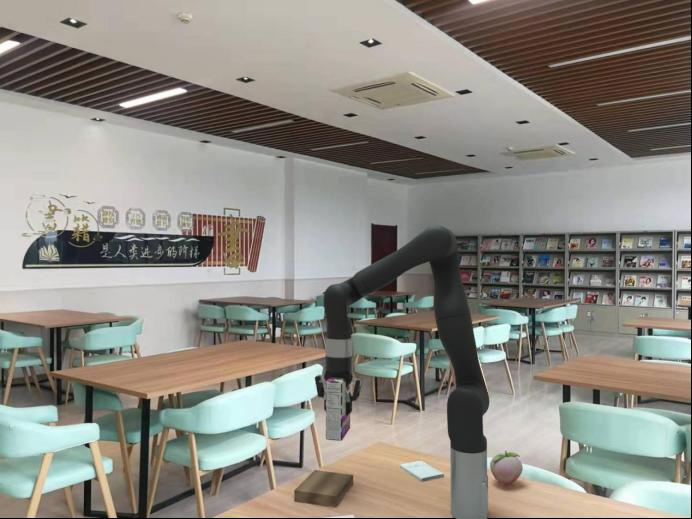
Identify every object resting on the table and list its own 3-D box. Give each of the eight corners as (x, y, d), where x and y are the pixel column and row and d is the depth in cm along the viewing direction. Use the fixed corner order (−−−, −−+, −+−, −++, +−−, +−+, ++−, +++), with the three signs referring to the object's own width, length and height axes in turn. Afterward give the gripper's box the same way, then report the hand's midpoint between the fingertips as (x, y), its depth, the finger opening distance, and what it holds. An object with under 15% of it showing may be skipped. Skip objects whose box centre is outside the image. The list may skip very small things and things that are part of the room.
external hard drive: (421, 483, 160) (399, 469, 171) (444, 478, 163) (421, 464, 174) (421, 478, 160) (399, 463, 171) (444, 473, 163) (421, 459, 174)
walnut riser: (353, 485, 157) (353, 474, 157) (335, 507, 143) (335, 496, 143) (315, 479, 161) (315, 469, 161) (294, 501, 147) (294, 490, 147)
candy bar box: (333, 427, 159) (334, 371, 159) (350, 428, 158) (351, 373, 158) (324, 440, 148) (325, 380, 148) (342, 441, 147) (343, 381, 147)
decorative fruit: (506, 476, 163) (505, 443, 163) (527, 486, 156) (527, 451, 156) (483, 483, 158) (482, 449, 158) (504, 493, 151) (504, 457, 151)
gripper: (366, 353, 154) (366, 412, 154) (320, 349, 159) (319, 407, 159) (358, 358, 147) (357, 420, 147) (310, 354, 152) (309, 414, 152)
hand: (337, 413), depth 153 cm, fingers closed on candy bar box, 5 cm apart
